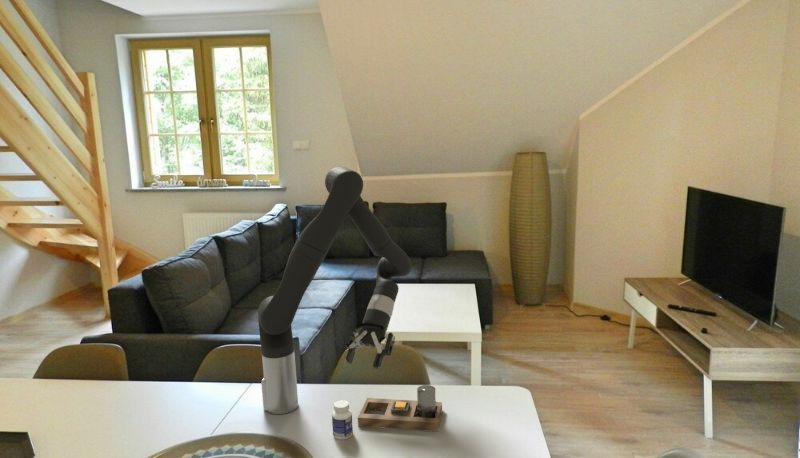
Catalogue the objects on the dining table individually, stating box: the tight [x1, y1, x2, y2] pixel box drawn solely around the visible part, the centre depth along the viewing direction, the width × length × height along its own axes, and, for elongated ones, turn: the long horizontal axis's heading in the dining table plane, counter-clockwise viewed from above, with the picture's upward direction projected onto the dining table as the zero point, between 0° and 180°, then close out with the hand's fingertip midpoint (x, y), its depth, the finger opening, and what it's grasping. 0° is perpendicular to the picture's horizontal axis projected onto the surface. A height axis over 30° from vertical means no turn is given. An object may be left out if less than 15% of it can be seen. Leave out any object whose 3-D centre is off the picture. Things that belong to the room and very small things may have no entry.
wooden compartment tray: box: [357, 397, 443, 432], centre depth 150 cm, size 22×11×4 cm, turn 80°
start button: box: [395, 402, 406, 409], centre depth 150 cm, size 3×3×1 cm
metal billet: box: [416, 384, 437, 418], centre depth 148 cm, size 5×5×9 cm
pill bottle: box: [331, 399, 354, 441], centre depth 142 cm, size 5×5×9 cm
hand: (361, 365), depth 151 cm, fingers open, 8 cm apart
